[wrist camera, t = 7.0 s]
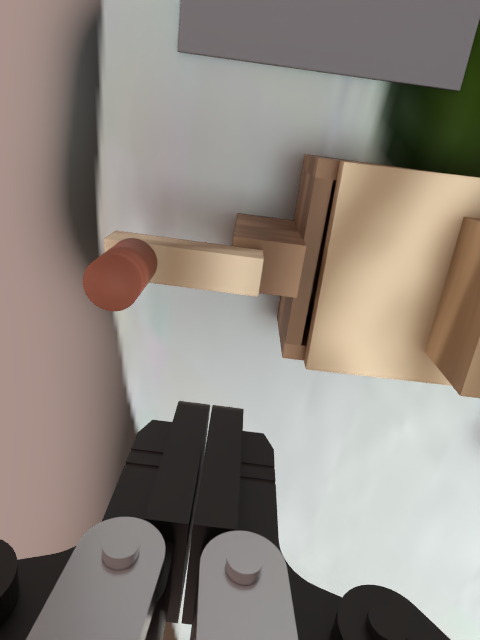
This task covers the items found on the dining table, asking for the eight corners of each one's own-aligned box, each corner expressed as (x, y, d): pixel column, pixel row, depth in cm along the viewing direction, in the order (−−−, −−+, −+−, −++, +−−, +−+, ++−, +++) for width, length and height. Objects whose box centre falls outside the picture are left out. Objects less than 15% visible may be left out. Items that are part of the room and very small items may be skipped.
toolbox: (535, 185, 31) (629, 201, 24) (479, 343, 36) (542, 401, 28) (246, 146, 31) (244, 148, 23) (225, 311, 35) (218, 359, 28)
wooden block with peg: (263, 246, 25) (266, 277, 19) (257, 288, 26) (258, 330, 20) (116, 227, 25) (75, 252, 19) (114, 270, 26) (75, 306, 20)
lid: (632, 195, 25) (746, 212, 19) (552, 388, 29) (626, 449, 24) (340, 160, 25) (366, 167, 19) (303, 360, 29) (316, 415, 23)
